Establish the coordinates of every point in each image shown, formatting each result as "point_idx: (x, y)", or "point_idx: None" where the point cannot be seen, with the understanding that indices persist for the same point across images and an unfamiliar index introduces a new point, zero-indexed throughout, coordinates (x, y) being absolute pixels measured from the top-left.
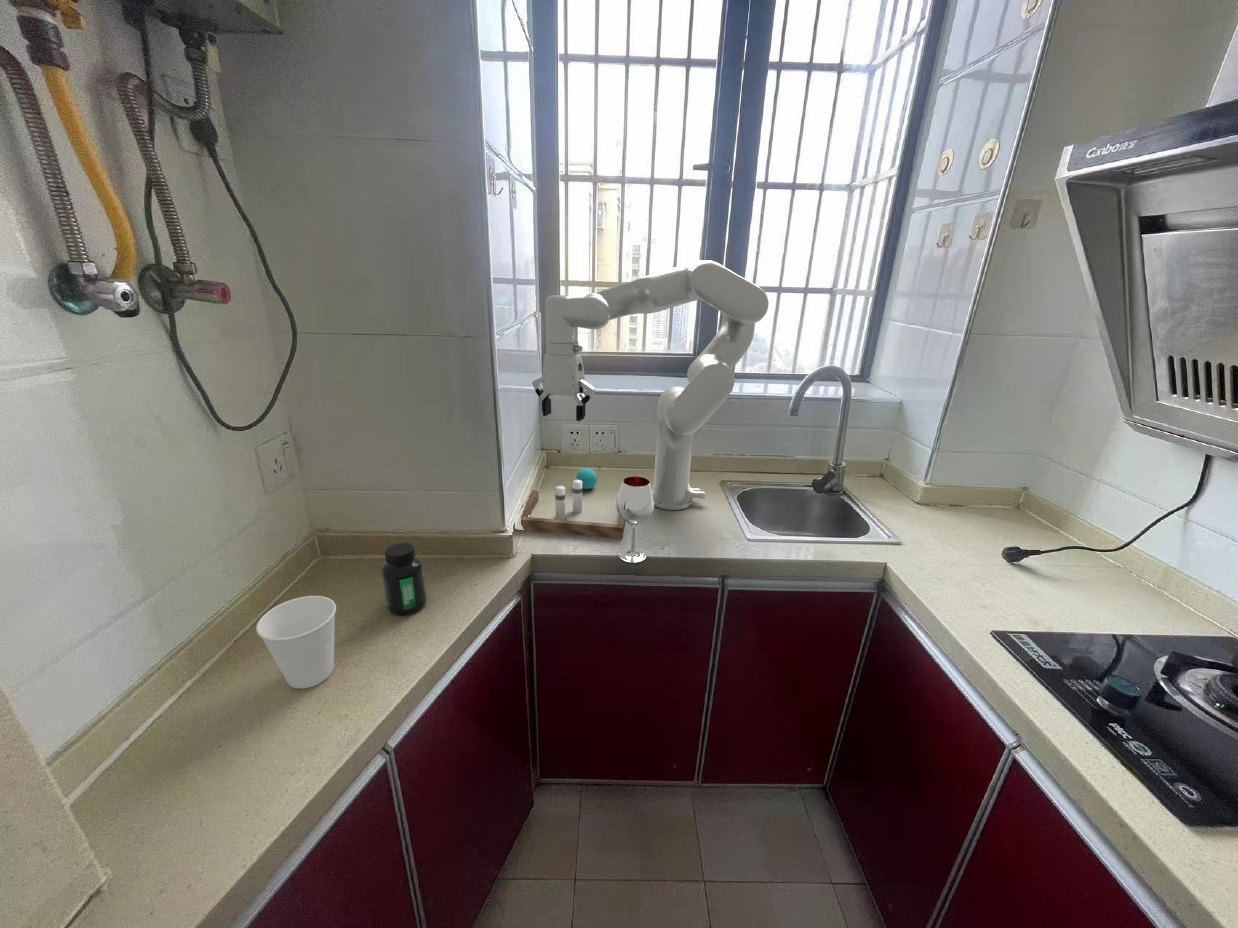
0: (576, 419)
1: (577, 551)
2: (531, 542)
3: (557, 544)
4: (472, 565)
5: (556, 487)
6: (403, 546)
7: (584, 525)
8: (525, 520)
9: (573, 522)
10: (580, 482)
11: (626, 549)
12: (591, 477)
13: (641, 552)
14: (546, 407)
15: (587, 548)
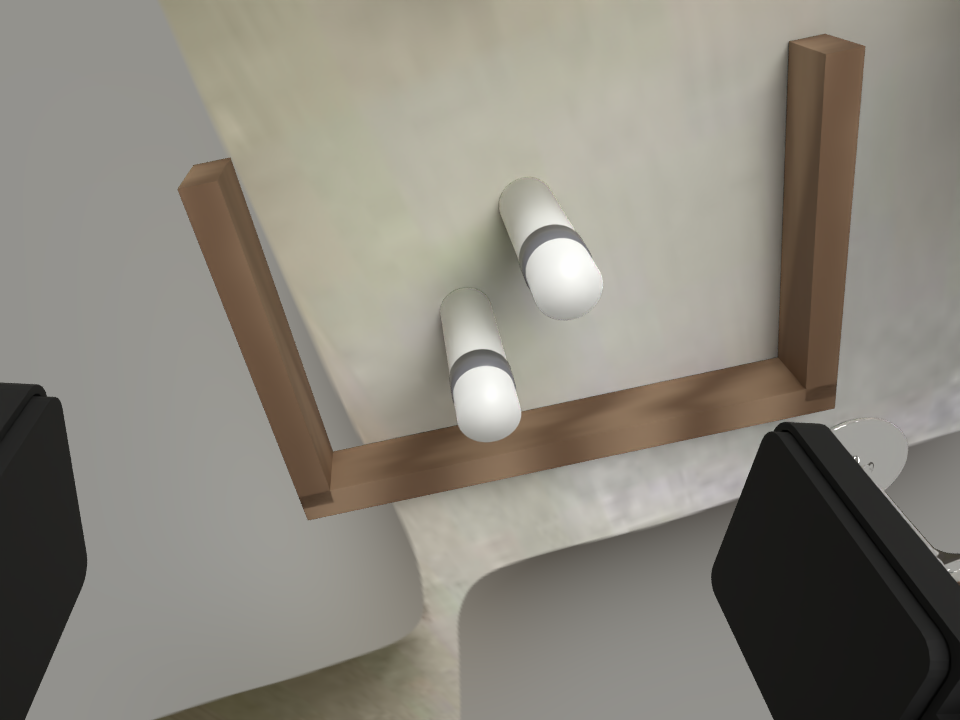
0: (719, 593)
1: (636, 513)
2: (435, 527)
3: (543, 502)
4: (319, 689)
5: (464, 420)
6: None
7: (651, 444)
8: (363, 505)
9: (595, 449)
10: (594, 295)
11: None
12: None
13: (889, 443)
14: (20, 671)
15: (670, 484)
